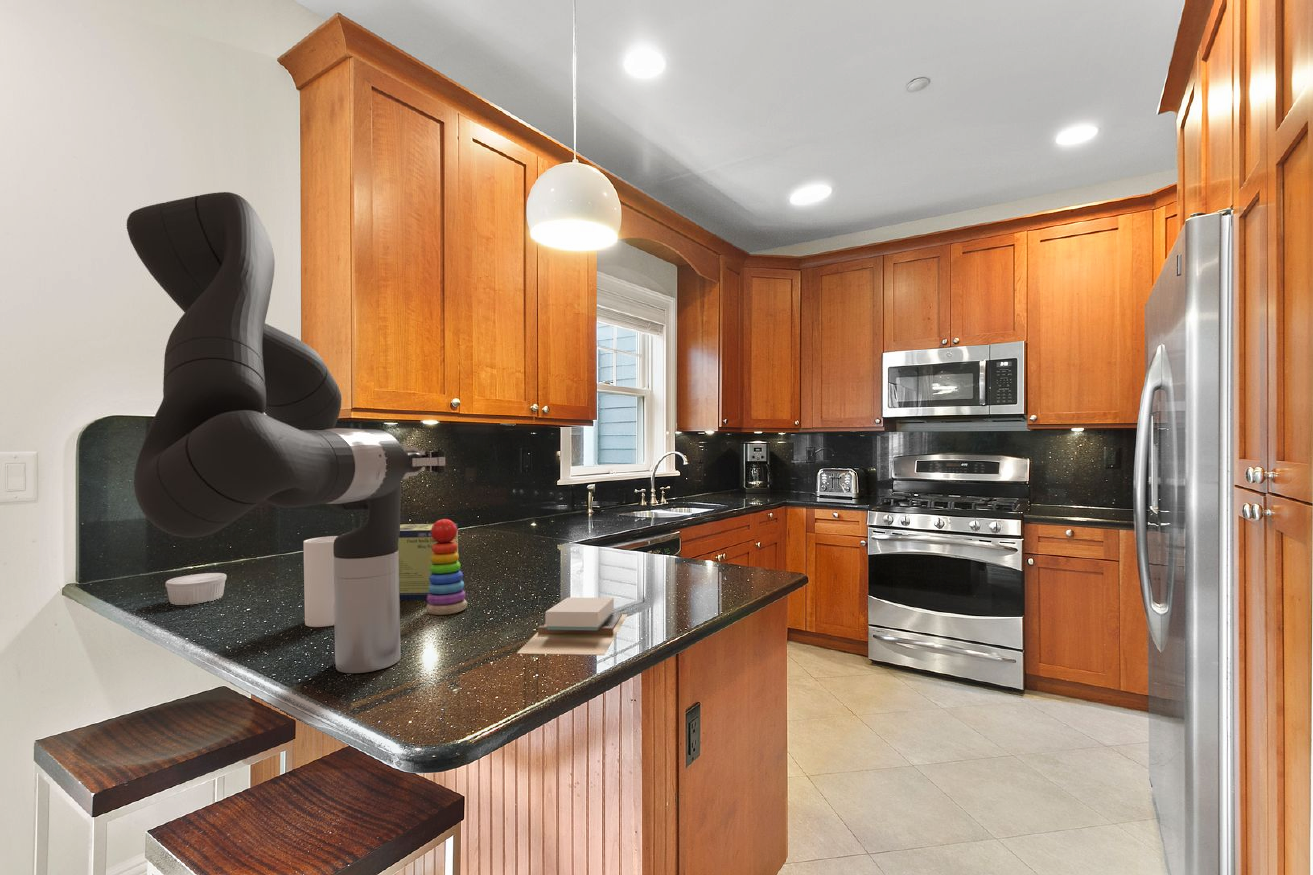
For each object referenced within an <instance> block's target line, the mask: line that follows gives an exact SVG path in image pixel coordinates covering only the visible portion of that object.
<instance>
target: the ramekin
mask: <svg viewBox="0 0 1313 875" xmlns="http://www.w3.org/2000/svg"><path fill="white" fill-rule="evenodd" d="M227 577H228V576H227V574H226V573H222V572H207V573H206V572H205V573H197V574H190V575H183V576H178V577H173V578H170V579H168V580H167V581H165V588H166V591H167V596H168V600H169V603H170V604H171V605H172V604H175V605H189V604H198V603H203V602H207V601H213V602H215V601H214V600H216V599H218V600H220V599H221V598H222V597H223V596H224V591H225V585H226V580H227ZM219 598H220V599H219ZM216 601H217V600H216ZM198 605H199V604H198Z"/></svg>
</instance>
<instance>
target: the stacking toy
mask: <svg viewBox="0 0 1313 875" xmlns="http://www.w3.org/2000/svg"><path fill="white" fill-rule="evenodd" d="M454 523H455V522H454V521H452V520H451V519H448V518H443V519H442V518H441V519H439V520H437V521H435V522H434V523H433V524H434V525H433V526H432V529H431V535H432V538H433V539H434V540H435V541H436V542H438V543H435V544H434V545H433V546H432V551H433V552H434V553H435V554H433V555H432V556H431V558H430V560H431V562H432V563H433V564H431V566H430V571H431V572H432V574H431V575H430V576H429V580H430V582H431V584H430V585H429V587H428V590H429V592H430V593H429V594H428V596H427V599H426V600H427V605H426V608H425V609H426V611H427V613H428V614H430V615H435V616H444V615H452V614H456V613H459V612H462V611H464V610H465V609H466V608H467V607H468V601H467V600H466V599H465V598H466V592H465V590H464V588H465V583H464V581H463V580H462V579H463V577H464V574H463V572H462V571H461V570H460V569H461V562H460V561H459V558H460V555H459V552H458V553H457V552H455V551H456V550H457V548H458V549H459V545H458V546H457V543H455V542H450V541H453V539H454V538H455V537H456V534H457V527H456V525H455V524H454ZM457 560H458V561H457Z"/></svg>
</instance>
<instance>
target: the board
mask: <svg viewBox="0 0 1313 875" xmlns="http://www.w3.org/2000/svg"><path fill="white" fill-rule="evenodd" d="M627 616H628V613H626V614H625V613H624V614H623V613H617V612H616V613H615V612H614V613H613V612H612V615H611V616H610V617H609V618H608V619H607V621H606V622H605V623H604V624H603V625H602V626H601V627H600V628H599V629H598V630H547V626H545V624H544V625H539V626H537V632H536V633H535V634H534V635H533V636H532V637H531V638H530V639H529V640H528V641H527V642H526V643H525V644H524V645H523V646H522V647H521V648H520V649H519V650H518V651H517V652H516V654H521V655H522V654H525V655H527V654H529V655H530V654H531V655H532V654H533V655H537V654H538V655H573V656H575V655H580V656H583V655H584V656H605V655H606V653H607V651H608V649H609V647H610V646H611V644H612V643H613V641H614V640H615V638H616V635H617V633H618V632H619V630H620V629H621V627H622V625H623V624H624V622H625V619H626V618H627Z"/></svg>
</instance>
